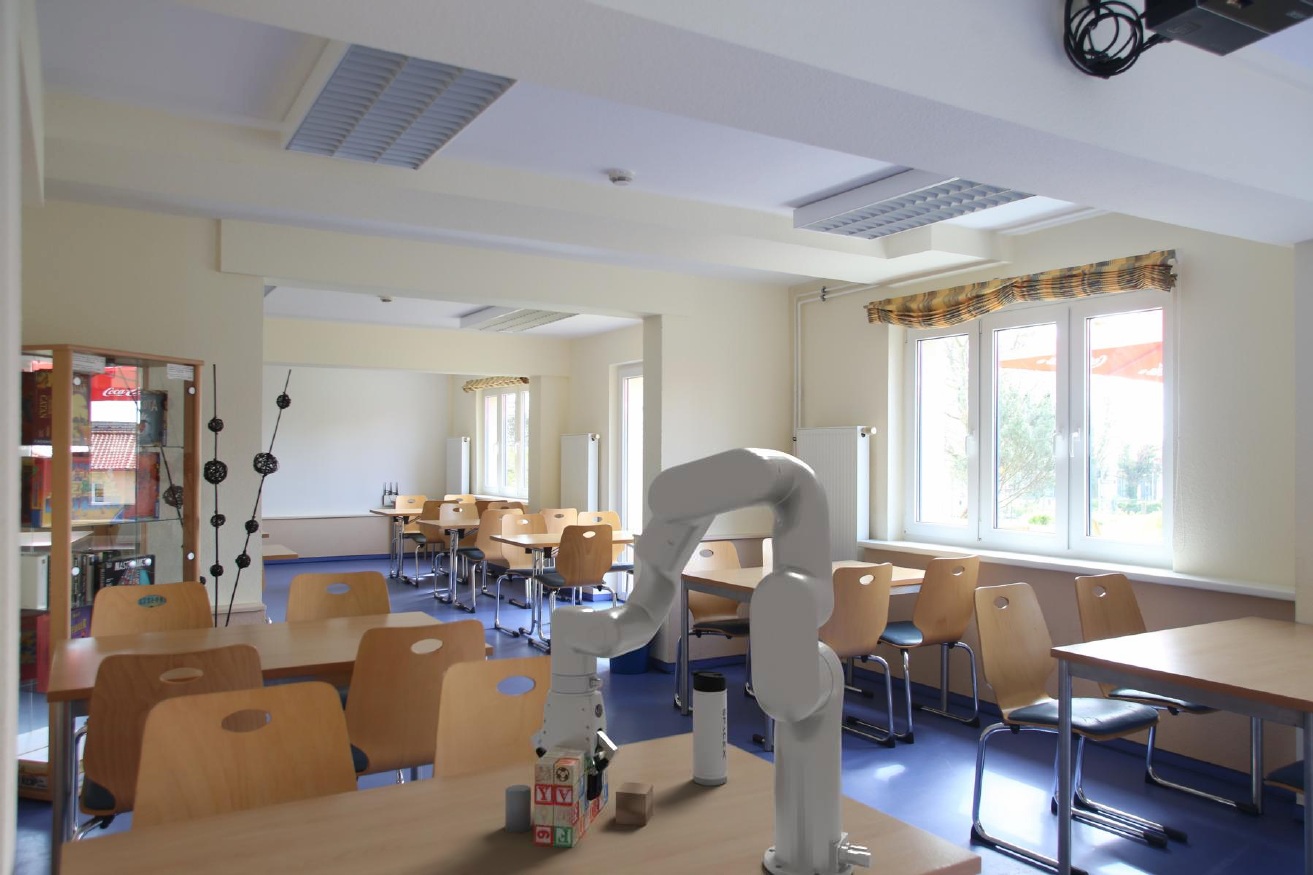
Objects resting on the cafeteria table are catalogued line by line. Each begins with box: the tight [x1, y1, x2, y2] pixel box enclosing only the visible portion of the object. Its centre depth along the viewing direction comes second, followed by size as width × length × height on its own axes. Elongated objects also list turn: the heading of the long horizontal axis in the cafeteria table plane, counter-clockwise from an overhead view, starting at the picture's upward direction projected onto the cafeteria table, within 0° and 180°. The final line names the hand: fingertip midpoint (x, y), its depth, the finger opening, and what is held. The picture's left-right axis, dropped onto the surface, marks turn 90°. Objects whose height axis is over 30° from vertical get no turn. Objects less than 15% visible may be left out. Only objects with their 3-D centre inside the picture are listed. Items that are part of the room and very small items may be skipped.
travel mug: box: [690, 670, 728, 787], centre depth 165 cm, size 6×7×20 cm
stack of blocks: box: [533, 746, 609, 848], centre depth 145 cm, size 21×6×12 cm, turn 169°
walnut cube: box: [615, 781, 654, 826], centre depth 146 cm, size 5×5×5 cm
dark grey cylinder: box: [504, 784, 532, 834], centre depth 142 cm, size 4×4×6 cm
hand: (572, 793), depth 144 cm, fingers closed on stack of blocks, 7 cm apart
